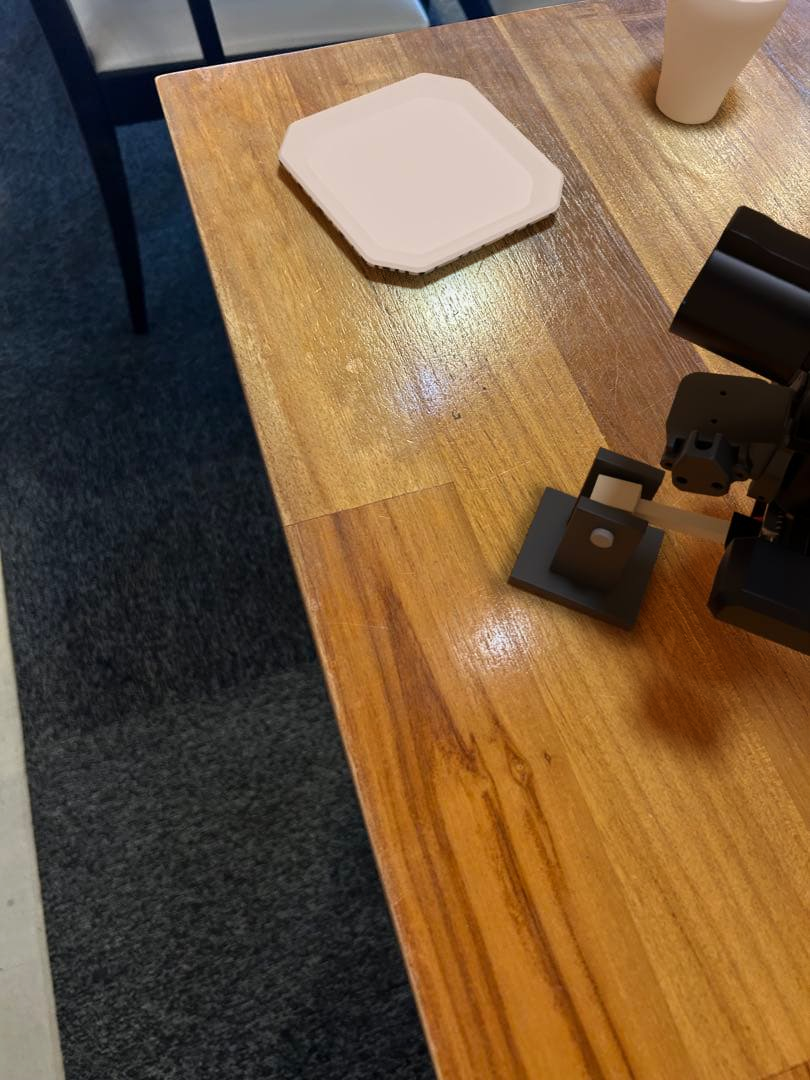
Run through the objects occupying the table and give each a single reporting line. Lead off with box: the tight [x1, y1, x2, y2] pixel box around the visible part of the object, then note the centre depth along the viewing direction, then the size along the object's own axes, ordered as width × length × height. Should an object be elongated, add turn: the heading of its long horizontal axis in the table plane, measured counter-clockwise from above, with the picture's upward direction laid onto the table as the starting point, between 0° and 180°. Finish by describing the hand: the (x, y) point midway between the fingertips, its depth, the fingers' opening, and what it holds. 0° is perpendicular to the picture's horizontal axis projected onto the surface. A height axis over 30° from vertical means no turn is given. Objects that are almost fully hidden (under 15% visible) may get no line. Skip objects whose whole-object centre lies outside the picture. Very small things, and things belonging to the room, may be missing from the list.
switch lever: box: [590, 475, 764, 545], centre depth 59 cm, size 12×3×3 cm, turn 67°
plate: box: [277, 72, 565, 276], centre depth 84 cm, size 21×21×2 cm
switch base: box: [507, 446, 666, 633], centre depth 63 cm, size 9×8×10 cm
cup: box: [655, 0, 790, 125], centre depth 87 cm, size 10×10×14 cm
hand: (746, 556), depth 60 cm, fingers closed on switch lever, 3 cm apart
